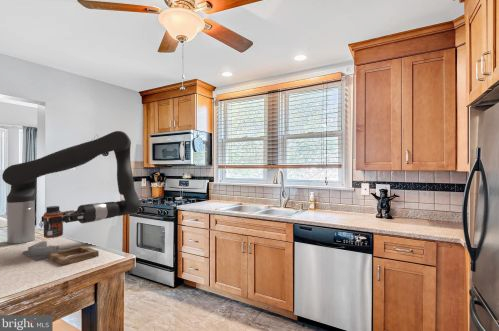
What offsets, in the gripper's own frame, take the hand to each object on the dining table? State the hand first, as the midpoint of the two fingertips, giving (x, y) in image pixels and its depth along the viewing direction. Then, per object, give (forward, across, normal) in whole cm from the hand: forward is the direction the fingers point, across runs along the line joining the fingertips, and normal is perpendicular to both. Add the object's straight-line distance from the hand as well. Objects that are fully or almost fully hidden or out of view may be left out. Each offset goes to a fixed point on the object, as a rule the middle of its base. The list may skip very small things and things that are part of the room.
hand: (45, 220), depth 101 cm
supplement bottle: (-2, 0, +7) cm, 7 cm away
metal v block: (+1, 0, +12) cm, 12 cm away
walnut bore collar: (-4, +14, +12) cm, 19 cm away
